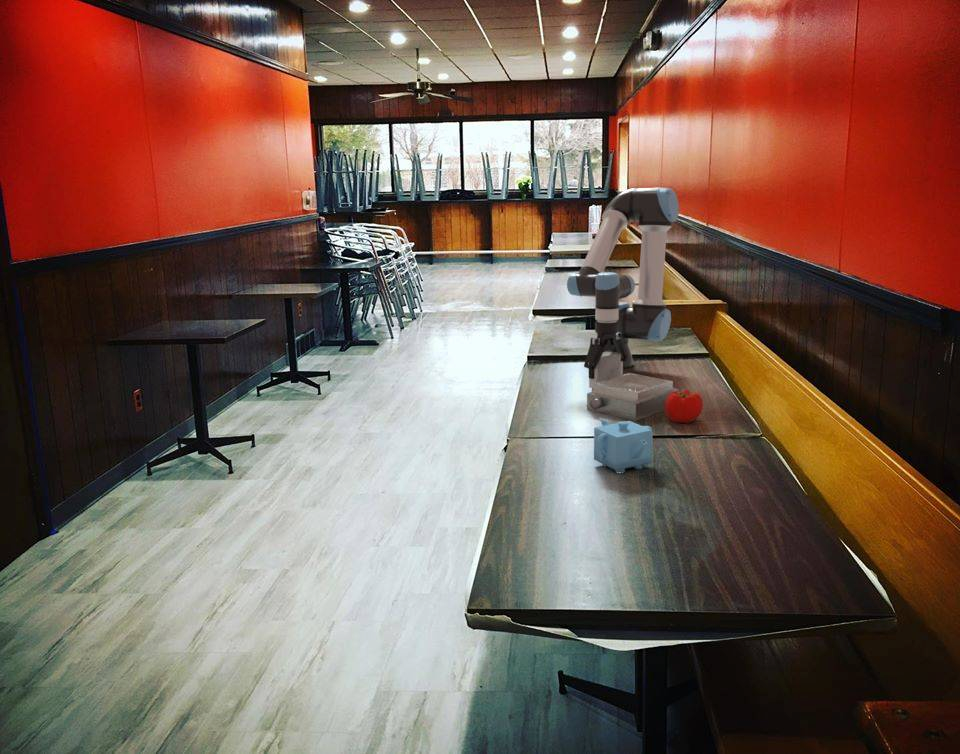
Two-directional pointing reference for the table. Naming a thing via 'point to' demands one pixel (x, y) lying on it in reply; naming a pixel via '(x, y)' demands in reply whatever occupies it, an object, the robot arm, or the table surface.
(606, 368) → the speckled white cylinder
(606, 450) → the teapot
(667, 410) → the tomato
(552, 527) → the table surface
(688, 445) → the table surface
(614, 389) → the gearbox
